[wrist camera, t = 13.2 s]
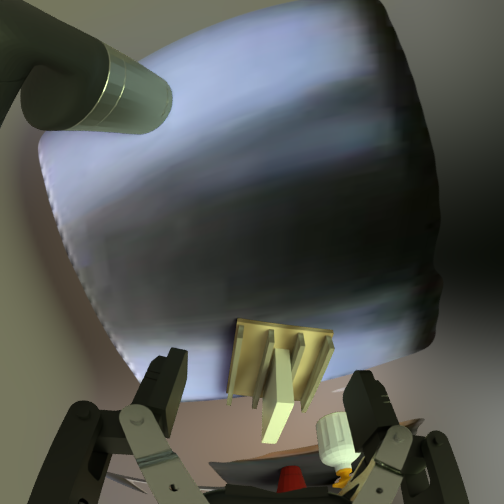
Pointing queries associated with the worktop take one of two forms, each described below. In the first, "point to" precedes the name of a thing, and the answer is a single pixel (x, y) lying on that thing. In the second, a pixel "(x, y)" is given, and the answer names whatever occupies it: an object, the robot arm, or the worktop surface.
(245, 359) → the dish rack
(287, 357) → the pale green flat slab
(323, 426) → the soap bottle
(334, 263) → the worktop surface
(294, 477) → the plastic cup
